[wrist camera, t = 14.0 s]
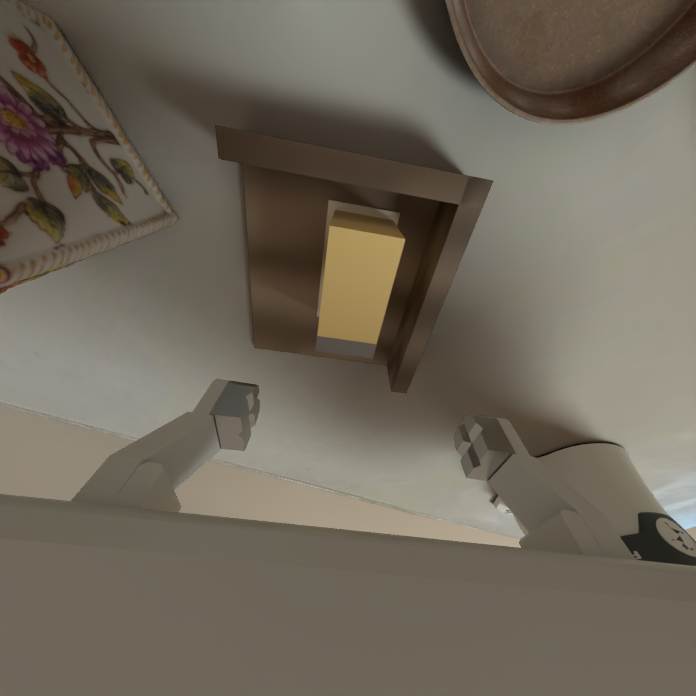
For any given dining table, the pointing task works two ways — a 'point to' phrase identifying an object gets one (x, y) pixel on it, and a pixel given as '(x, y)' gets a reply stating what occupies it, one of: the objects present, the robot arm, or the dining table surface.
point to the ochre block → (357, 282)
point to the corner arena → (313, 229)
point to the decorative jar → (62, 158)
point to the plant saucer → (574, 52)
